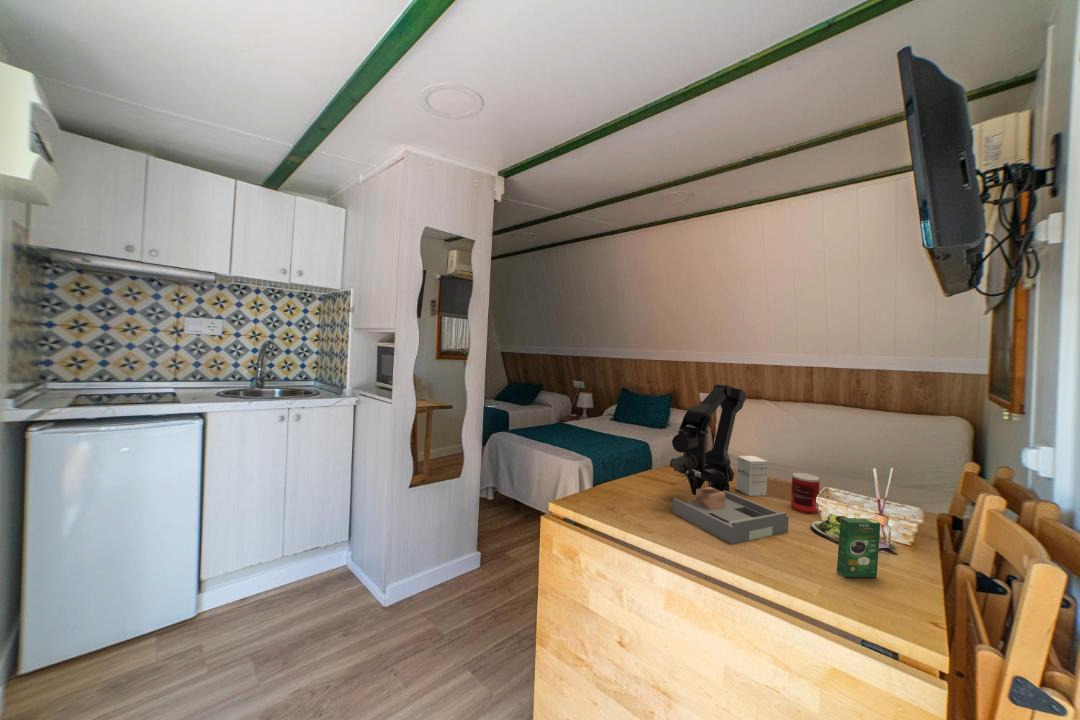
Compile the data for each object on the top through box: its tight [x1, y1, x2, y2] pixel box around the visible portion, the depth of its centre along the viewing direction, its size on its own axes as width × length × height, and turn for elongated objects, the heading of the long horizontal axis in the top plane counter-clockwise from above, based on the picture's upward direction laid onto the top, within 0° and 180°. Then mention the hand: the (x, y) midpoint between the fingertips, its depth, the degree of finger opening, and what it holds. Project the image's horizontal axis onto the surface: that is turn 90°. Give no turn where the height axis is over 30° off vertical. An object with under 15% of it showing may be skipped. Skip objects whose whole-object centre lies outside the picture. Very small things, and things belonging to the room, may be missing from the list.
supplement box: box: [735, 455, 769, 497], centre depth 155 cm, size 7×7×13 cm
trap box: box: [671, 490, 790, 545], centre depth 128 cm, size 23×22×6 cm
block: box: [695, 486, 725, 510], centre depth 134 cm, size 6×6×4 cm
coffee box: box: [836, 517, 881, 579], centre depth 99 cm, size 8×3×13 cm, turn 93°
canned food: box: [790, 472, 821, 514], centre depth 139 cm, size 8×8×11 cm
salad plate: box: [810, 513, 899, 551], centre depth 119 cm, size 19×18×5 cm
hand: (694, 494), depth 140 cm, fingers closed
